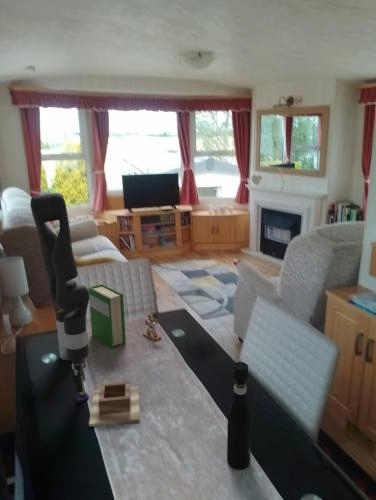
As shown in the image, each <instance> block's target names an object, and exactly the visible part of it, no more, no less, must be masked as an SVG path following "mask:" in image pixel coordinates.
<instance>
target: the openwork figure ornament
mask: <svg viewBox="0 0 376 500" xmlns="http://www.w3.org/2000/svg"><path fill="white" fill-rule="evenodd" d="M147 317H148V319H146V320H145V326H148V328H147V331H146V332H144V333H142V336H143V337H145V338H146V337H147V339H149V340H151V341H153V342H155V341H156V342H158V341H160V340H161V339H162V336H160V335H158V334H157V332H156V329H155V326H157V325H158V323H159V321H158V319H157V318H155V315H154V313H152V312H151V313H148V316H147ZM148 321H149V322H148ZM150 329H151V330H150Z"/></svg>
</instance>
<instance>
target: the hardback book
mask: <svg viewBox="0 0 376 500" xmlns="http://www.w3.org/2000/svg"><path fill="white" fill-rule="evenodd" d="M87 289H88V291H89V312H90V323H91V326H90V327H91V336H92V337H94V338H95V339H96V340H97V341H99V342H100V343H102V344H103V345H105V346H107V348H109V349H111V350H113V349H114V346H115V347H116V346H117V345H120V344H123V345H126V344H127V341H126V323H125V322H126V321H125V304H124V303H125V302H124V293H122V292H121V291H118V290H116V289H114V288H112V287H110V286H108V285H106V284H104V283H101V284H96V285H93V286H90V287H88V288H87Z"/></svg>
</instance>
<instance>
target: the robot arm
mask: <svg viewBox="0 0 376 500" xmlns="http://www.w3.org/2000/svg"><path fill="white" fill-rule="evenodd" d="M30 210H31V214H32V218H33V221H34V224H35V228H36V231H37V236H38V239H39V245H40V251H41V257H42V260H43V264H44V268H45V272H46V276H47V284H48V290H49V291H48V292H49V297H50V301H51V302H52V304H54V305H57V307H58V308H59V310H57V312H56V314H55V320H56V329H57V330H56V331H57V339H58V347H59V357H60V359H61V360H64V361H72V362H71V374H72V375H71V376H72V383H73V385H74V386H75V393H77V394H80V392H83V386H82V382H83V383H85V381H86V378H85V377H86V375H85V370H86V367H85V368H84V369H83V367H84V362H85V363H86V358H87V357H88V356H89V354H90V350H89V347H90V346H89V337H88V332H87V323H86V319H87V312H88V307H89V304H90V302H89V290H88V288H87V286H86V285H83V284H78V283H77V281H75V279H76V278H77V277H78V273H79V272H78V268H77V263H76V259H75V257H74V251H73V246H72V238H71V231H70V230H71V229H70V222H69V216H68V210H67V205H66V200H65V198H64V196H63V194H61V193H60V192H53V193H47V194H40V195H35V196H33V197H31V198H30ZM54 221H58V223H59V229H58V230H59V231H58V233H57V234H58V235H57V234H56V233H54V232H53V231H52V230H51V229H50V227H49V226H48V225H47V223H50V222H54ZM81 359H84V362H81ZM73 361H74V362H73ZM72 368H73V369H72ZM74 369H75V370H74ZM80 372H81V373H80ZM82 376H83V380H82Z"/></svg>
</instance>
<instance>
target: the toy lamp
mask: <svg viewBox="0 0 376 500" xmlns="http://www.w3.org/2000/svg"><path fill="white" fill-rule="evenodd" d="M72 362H74V361H73V360H72ZM81 362H84V359H81ZM86 367H87V366H86V361H85V362H84V367H83V369H84V368H85V369H86ZM71 370H73V368H72V367H71ZM74 370H75V369H74ZM80 373H81V372H80ZM82 380H83V376H82ZM84 385H85V382H82V386H83V392H80V393H77V395H76V401H77V402H78V403H85V402H87V401H88V400H89V399H90V396H89V394H88V393H87V392H85V386H84Z"/></svg>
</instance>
